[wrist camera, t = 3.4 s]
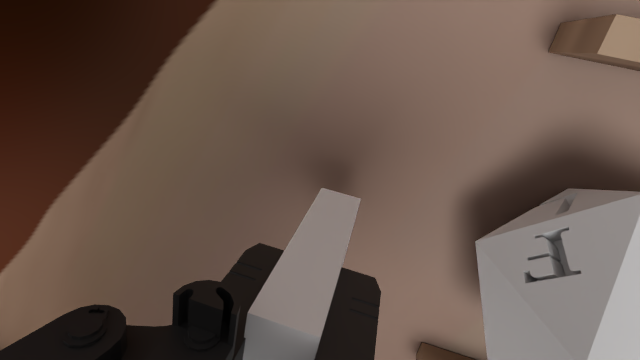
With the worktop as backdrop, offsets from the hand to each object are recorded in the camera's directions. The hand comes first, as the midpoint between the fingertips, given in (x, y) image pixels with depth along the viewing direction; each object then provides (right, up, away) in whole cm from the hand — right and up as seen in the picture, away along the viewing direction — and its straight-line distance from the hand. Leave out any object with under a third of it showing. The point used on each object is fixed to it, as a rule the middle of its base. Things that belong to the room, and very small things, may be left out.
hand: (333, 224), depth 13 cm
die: (+10, -1, +2) cm, 11 cm away
